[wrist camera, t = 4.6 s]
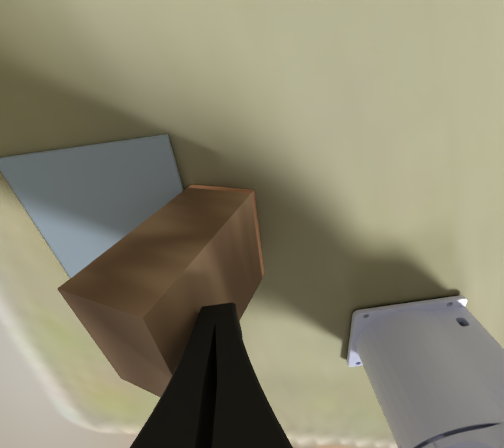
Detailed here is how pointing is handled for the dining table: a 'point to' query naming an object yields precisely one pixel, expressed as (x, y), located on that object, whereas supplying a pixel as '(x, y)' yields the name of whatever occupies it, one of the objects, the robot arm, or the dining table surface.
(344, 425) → the dining table surface
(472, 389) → the robot arm
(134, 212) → the mat
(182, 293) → the brown wooden block
